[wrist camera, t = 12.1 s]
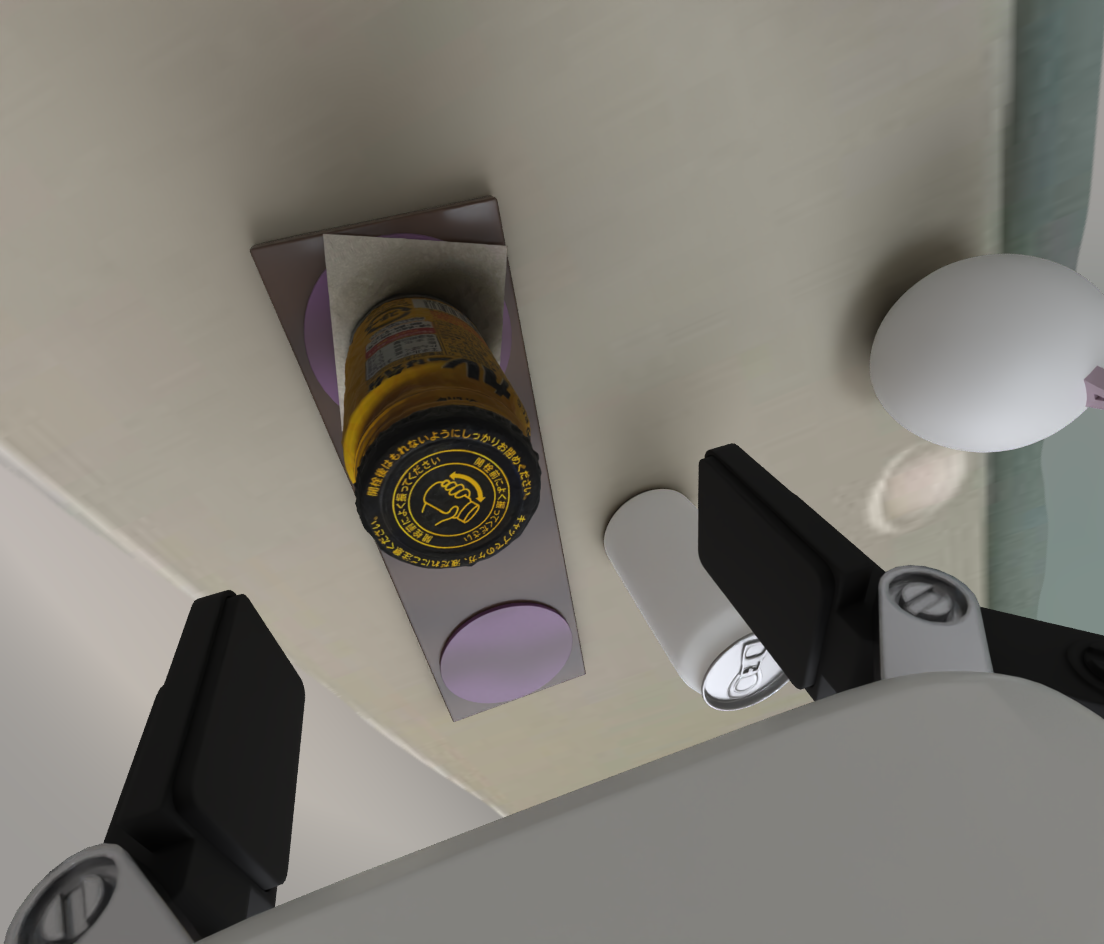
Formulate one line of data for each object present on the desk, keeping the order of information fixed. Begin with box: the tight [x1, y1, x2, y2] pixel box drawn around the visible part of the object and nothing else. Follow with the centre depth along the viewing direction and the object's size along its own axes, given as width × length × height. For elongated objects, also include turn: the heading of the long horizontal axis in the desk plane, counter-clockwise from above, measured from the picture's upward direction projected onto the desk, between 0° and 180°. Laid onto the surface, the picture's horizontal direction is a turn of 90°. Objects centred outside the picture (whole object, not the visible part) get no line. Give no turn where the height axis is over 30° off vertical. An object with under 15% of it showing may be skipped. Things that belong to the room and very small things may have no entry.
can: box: [604, 489, 789, 711], centre depth 32 cm, size 6×6×12 cm
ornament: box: [870, 254, 1104, 452], centre depth 30 cm, size 10×10×12 cm
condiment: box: [323, 234, 542, 569], centre depth 20 cm, size 7×8×12 cm
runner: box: [250, 196, 586, 722], centre depth 31 cm, size 32×10×1 cm, turn 9°
